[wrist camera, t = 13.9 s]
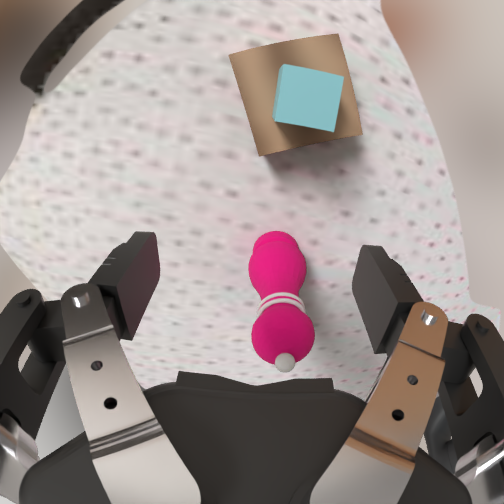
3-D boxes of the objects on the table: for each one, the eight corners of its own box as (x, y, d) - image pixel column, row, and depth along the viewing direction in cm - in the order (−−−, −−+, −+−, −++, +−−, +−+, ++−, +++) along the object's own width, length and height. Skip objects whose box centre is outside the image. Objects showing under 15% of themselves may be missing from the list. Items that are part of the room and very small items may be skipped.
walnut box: (325, 42, 27) (338, 33, 22) (346, 127, 32) (362, 134, 27) (233, 61, 28) (228, 54, 23) (259, 146, 34) (259, 156, 29)
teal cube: (330, 78, 24) (344, 76, 20) (321, 125, 27) (333, 132, 22) (279, 68, 24) (283, 63, 20) (272, 116, 27) (275, 121, 22)
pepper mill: (260, 220, 38) (260, 334, 21) (310, 237, 40) (343, 352, 22) (242, 263, 42) (232, 383, 25) (289, 278, 43) (304, 396, 26)
